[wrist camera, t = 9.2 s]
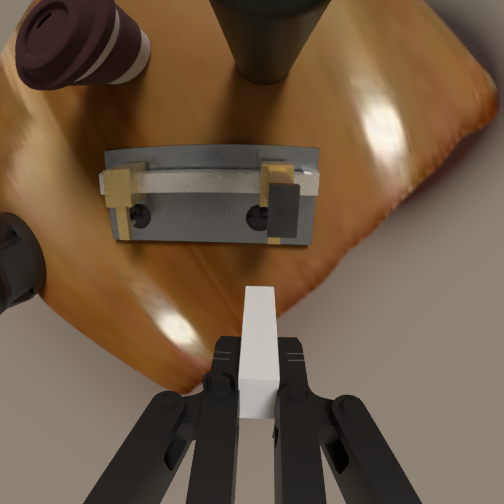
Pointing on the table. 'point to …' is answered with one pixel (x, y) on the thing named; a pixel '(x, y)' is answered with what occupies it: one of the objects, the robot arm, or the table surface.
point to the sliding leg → (279, 199)
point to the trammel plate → (202, 192)
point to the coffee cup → (79, 45)
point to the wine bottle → (267, 34)
